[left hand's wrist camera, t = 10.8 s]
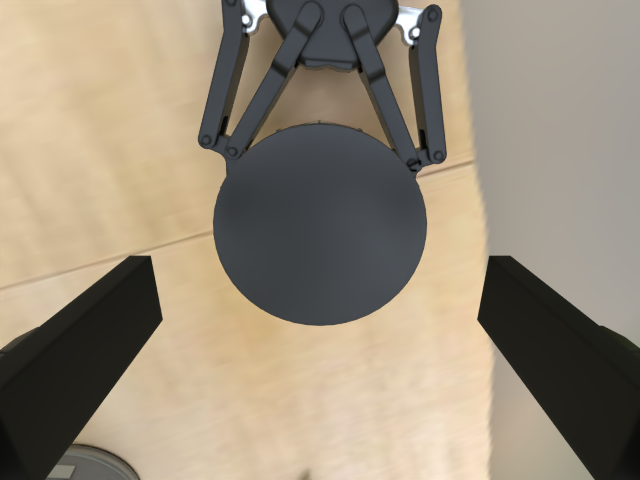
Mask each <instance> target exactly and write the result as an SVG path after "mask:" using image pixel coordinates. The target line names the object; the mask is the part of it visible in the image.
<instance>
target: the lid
mask: <svg viewBox="0 0 640 480" xmlns="http://www.w3.org/2000/svg"><path fill="white" fill-rule="evenodd" d="M362 131H363V130H362V129H360V128H358V130H357V129H354V128H352V127H349V126H344V125H340V124H335V123H321V122H320V121H318V123H305V124H300V125H296V126H291V127H289V128H286V129H283V130H281V129H278V130H276V133H274V134H272V135H270V136H268V137H266V138H265V139H263V140H261V141H260V142H258V143H257V144H256V145H254V146H253V147H251V148H250V149H249V150H248V151H246V152H244V153H242V157H241V158H239V159H238V161H237V162H236V163H235V165H234V166H233V167H232V168H231V170H230V171H229V173H228V175H227V176H226V178H225V180H224V182H223V183H222V186H221V187H220V188H221V189H220V191H219V194H218V196H217V200H216V205H215V209H214V219H213V230H214V240H215V245H216V250H217V253H218V256H219V259H220V261H221V264H222V266H223V268H224V270H225V272H226V274H227V275H228V277H229V278H230V280H231V281H232V283H233V284H234V285H235V286H236V287H237V289H238V290H239V291H240V292H241V293H242V294H243V295H244V296H245V297H246V298H247V299H248V300H249V301H251V302H252V303H253V304H255V305H256V306H257V307H259V308H260V309H262V310H264V311H266V312H267V313H269V314H271V315H273V316H276V317H278V318H281V319H283V320H286V321H290V322H293V323H298V324H304V325H315V326H325V325H336V324H342V323H347V322H350V321H354V320H357V319H359V318H362V317H364V316H367V315H369V314H371V313H373V312H374V311H376V310H378V309H380V308H381V307H383V306H384V305H385V304H387V303H388V302H390V301H391V300H392V299H393V298H394V297H395V296H396V295H397V294H398V293H399V292H400V291H401V290H402V289H403V288H404V286H405V285H406V284H407V283H408V281H409V280H410V278H411V277H412V275H413V274H414V272H415V270H416V268H417V266H418V264H419V262H420V259H421V256H422V253H423V250H424V246H425V240H426V232H427V218H426V208H425V204H424V200H423V196H422V193H421V191H420V188H419V185H418V183H417V181H416V180H415V178H414V176H413V174H412V173H411V171H410V170H409V168H408V167H407V166H406V164H405V163H404V162H403V161H402V159H401V158H400V157H399V156H397V152H395V151H394V150H391V149H390V148H389V147H387V146H386V145H384V144H383V143H382V142H380V141H379V140H377V139H376V138H374V137H372V136H370V135H368V134H366V133H364V132H362Z"/></svg>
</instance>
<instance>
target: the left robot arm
mask: <svg viewBox="0 0 640 480" xmlns="http://www.w3.org/2000/svg"><path fill="white" fill-rule="evenodd" d="M162 320H163V318H162V313H161V308H160V302H159V297H158V292H157V287H156V281H155V276H154V271H153V265H152V260H151V256H129V257H127V258H126V259H125V260H124V261H122V262H121V263H120V264H119V265H117V266H116V267H115V268H114V269H112V270H111V271H110V272H108V273H107V274H106V275H105V276H103V277H102V278H101V279H100V280H98V281H97V282H96V283H94V284H93V285H92V286H91V287H89V288H88V289H87V290H86V291H84V292H83V293H82V294H81V295H79V296H78V297H77V298H75V299H74V300H73V301H72V302H70V303H69V304H68V305H67V306H65V307H64V308H63V309H61V310H60V311H59V312H58V313H56V314H55V315H54V316H53V317H51V318H50V319H49V320H47V321H46V322H45V323H44V324H42V325H41V326H40V327H37V328H35V329H33V330H31V331H29V332H27V333H25V334H23V335H21V336H19V337H17V338H15V339H14V340H13V341H11V342H10V343H9V344H7V345H6V346H5V347H3V348H2V349H1V350H0V480H139V479H138V477H137V476H136V474H135V473H134V471H133V470H132V469H131V468H130V467H129V466H128V465H127V464H126V463H124V462H123V461H122V460H120V459H119V458H117V457H115V456H113V455H111V454H109V453H107V452H105V451H102V450H99V449H96V448H92V447H87V446H79V445H71V444H72V443H73V441H74V440H75V439H76V437H77V436H78V434H79V433H80V432H81V430H82V429H83V428H84V426H85V425H86V424H87V422H88V421H89V420H90V418H91V417H92V415H93V414H94V413H95V411H96V410H97V409H98V407H99V406H100V405H101V403H102V402H103V400H104V399H105V398H106V396H107V395H108V394H109V392H110V391H111V390H112V388H113V387H114V385H115V384H116V383H117V381H118V380H119V379H120V377H121V376H122V375H123V373H124V372H125V371H126V369H127V368H128V366H129V365H130V364H131V362H132V361H133V360H134V358H135V357H136V356H137V354H138V353H139V351H140V350H141V349H142V347H143V346H144V345H145V343H146V342H147V341H148V339H149V338H150V337H151V335H152V334H153V332H154V331H155V330H156V328H157V327H158V326H159V324H160V323H161V322H162ZM477 320H478V322H479V323H480V324H481V326H482V327H483V328H484V330H485V331H486V332H487V334H488V335H489V337H490V338H491V339H492V341H493V342H494V343H495V345H496V346H497V347H498V349H499V350H500V351H501V353H502V354H503V356H504V357H505V358H506V360H507V361H508V362H509V364H510V365H511V366H512V368H513V369H514V370H515V372H516V373H517V375H518V376H519V377H520V379H521V380H522V381H523V383H524V384H525V385H526V387H527V388H528V390H529V391H530V392H531V394H532V395H533V396H534V398H535V399H536V400H537V402H538V403H539V405H540V406H541V407H542V409H543V410H544V411H545V413H546V414H547V415H548V417H549V418H550V419H551V421H552V422H553V424H554V425H555V426H556V428H557V429H558V430H559V432H560V433H561V434H562V436H563V437H564V439H565V440H566V441H567V443H568V444H569V445H570V447H571V448H572V449H573V451H574V452H575V454H576V455H577V456H578V458H579V459H580V460H581V462H582V463H583V464H584V466H585V467H586V468H587V470H588V471H589V473H590V474H591V475H592V477H593V478H594V479H595V480H640V348H639V347H637V346H636V345H635V344H633V343H632V342H631V341H630V340H628V339H627V338H626V337H624V336H622V335H620V334H618V333H616V332H614V331H612V330H610V329H608V328H606V327H604V326H599V325H598V324H596V323H595V322H594V321H592V320H591V319H590V318H589V317H587V316H586V315H585V314H584V313H582V312H581V311H580V310H579V309H577V308H576V307H575V306H573V305H572V304H571V303H570V302H568V301H567V300H566V299H564V298H563V297H562V296H561V295H559V294H558V293H557V292H556V291H554V290H553V289H552V288H551V287H549V286H548V285H547V284H546V283H544V282H543V281H542V280H540V279H539V278H538V277H537V276H535V275H534V274H533V273H532V272H530V271H529V270H528V269H526V268H525V267H524V266H523V265H521V264H520V263H519V262H518V261H516V260H515V259H514V258H512V257H511V256H489V260H488V265H487V271H486V276H485V281H484V287H483V292H482V297H481V302H480V308H479V313H478V318H477Z"/></svg>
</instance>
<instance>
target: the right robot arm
mask: <svg viewBox="0 0 640 480" xmlns="http://www.w3.org/2000/svg"><path fill="white" fill-rule="evenodd" d="M221 1H222V14H223V27H224V33H223V37H222V41H221V45H220V49H219V53H218V57H217V61H216V65H215V70H214V74H213V78H212V82H211V86H210V90H209V94H208V98H207V102H206V107H205V111H204V115H203V119H202V123H201V127H200V131H199V135H198V142H199V144H200V146H201V147H203V148H204V149H211V150H213V151H215V152H218V153H220V154H221V155H222V156H223V157H224V158H225V161H226V175H228V173H229V171H230V170H231V168H232V167H233V166H234V165H235V163H236V162H237V161H238V159H239V158H241V157H242V153H244V152H246V151H248V149H249V147H250V146H251V144H252V142H253V141H254V139H255V137H256V136H257V134H258V132H259V131H260V129H261V127H262V126H263V124H264V122H265V121H266V119H267V117H268V116H269V114H270V112H271V111H272V109H273V107H274V105H275V104H276V102H277V100H278V99H279V97H280V95H281V94H282V92H283V90H284V89H285V87H286V85H287V84H288V82H289V80H290V79H291V78H292V76H293V75H294V73H295V72H296V70H297V68H298V67H299V65H300V66H302V67H304V68H306V70H320V69H325V68H330V69H333V70H335V71H338V72H348V73H350V72H351V71H354V70H356V69H357V71H358V74H359V76H360V78H361V80H362V82H363V84H364V86H365V88H366V90H367V92H368V95H369V97H370V100H371V102H372V104H373V107H374V109H375V111H376V114H377V116H378V118H379V121H380V123H381V125H382V128H383V130H384V133H385V135H386V137H387V140H388V142H389V144H390V147H391V149H392V150H394V151H395V152H397V156H399V157H400V158H401V159H402V161H403V162H404V163H405V164H406V166H407V167H408V168H409V170H410V171H411V173H412V174H413V176H414V178H415V179H416V175H417V173H418V172H419V171H420V170H421V169H422V167H425V166H428V165H431V164H440V163H442V162H443V161H444V160H445V159H446V156H447V152H446V142H445V132H444V123H443V113H442V103H441V94H440V84H439V74H438V65H437V55H436V43H437V38H438V33H439V29H440V24H441V19H442V11H441V8H440V7H439V6H438V5H435V4H433V5H430V6H428V7H427V8H425V9H418V8H411V7H404V6H399V4H398V1H397V0H221ZM265 17H270V19H271V21H272V22H273V24H274V26H275V28H276V29H277V31H278V33H279V34H280V36H281V38H282V39H283V41H284V42H283V43H282V45H281V47H280V49H279V50H278V52H277V54H276V56H275V57H274V59H273V62H272V64H271V67H270V69H269V71H268V72H267V74H266V76H265V78H264V79H263V81H262V83H261V85H260V86H259V88H258V90H257V92H256V93H255V95H254V97H253V99H252V100H251V102H250V104H249V106H248V107H247V109H246V111H245V113H244V114H243V116H242V118H241V120H240V121H239V123H238V125H237V127H236V128H235V130H234V132H233V134H232V135H231V136H229V135H226V130H227V126H228V122H229V119H230V115H231V111H232V108H233V104H234V100H235V96H236V93H237V89H238V85H239V82H240V78H241V74H242V70H243V67H244V63H245V59H246V56H247V52H248V47H249V39H250V35H254V34H256V33H257V32H258V30H259V25H260V22H261V21H262V19H264V18H265ZM393 26H394V27H396V28H398V29H399V30H400V32H401V40H402V43H403V44H404V45H405V46H407V47H409V67H410V75H411V82H412V90H413V98H414V106H415V113H416V121H417V129H418V136H419V144H420V147H419V148H415V147H414V144H413V142H412V139H411V137H410V134H409V132H408V129H407V127H406V124H405V122H404V119H403V117H402V114H401V112H400V109H399V107H398V104H397V102H396V99H395V97H394V94H393V92H392V89H391V87H390V84H389V82H388V79H387V77H386V74H385V68H384V65H383V63H382V60H381V58H380V55H379V53H378V50H377V46H378V45H379V44H380V43H381V41H382V40H383V39H384V37H385V36H386V35H387V34H388V32H389V31H390V30H391V28H392V27H393Z"/></svg>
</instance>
